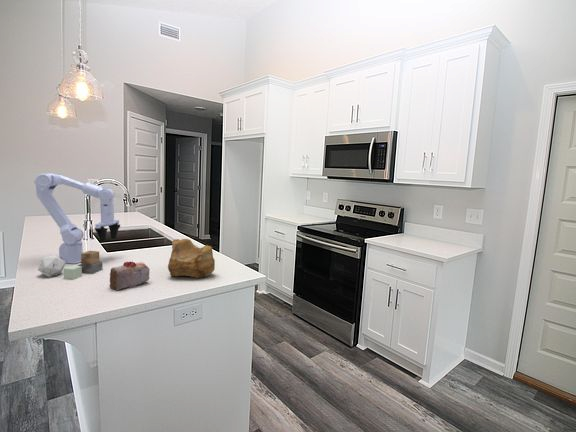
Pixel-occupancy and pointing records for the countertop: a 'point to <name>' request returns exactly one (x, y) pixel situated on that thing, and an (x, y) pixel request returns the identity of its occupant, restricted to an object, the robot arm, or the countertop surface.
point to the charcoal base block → (91, 268)
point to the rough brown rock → (190, 259)
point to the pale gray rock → (51, 265)
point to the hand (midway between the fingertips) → (108, 240)
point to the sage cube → (72, 272)
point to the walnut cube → (90, 258)
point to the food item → (129, 275)
